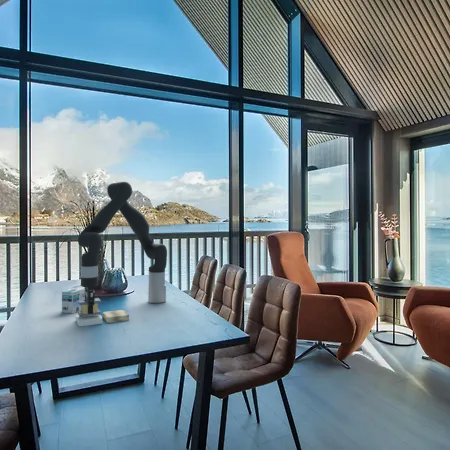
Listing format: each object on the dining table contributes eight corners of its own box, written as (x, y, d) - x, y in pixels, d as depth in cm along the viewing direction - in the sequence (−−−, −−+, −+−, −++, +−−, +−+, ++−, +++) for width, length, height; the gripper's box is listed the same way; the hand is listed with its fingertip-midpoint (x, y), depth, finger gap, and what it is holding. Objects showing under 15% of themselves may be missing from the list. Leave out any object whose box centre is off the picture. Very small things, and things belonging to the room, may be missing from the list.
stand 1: (98, 317, 170) (98, 312, 170) (102, 323, 161) (102, 318, 161) (76, 320, 165) (76, 315, 165) (78, 326, 156) (78, 320, 156)
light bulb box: (73, 313, 176) (73, 292, 176) (61, 312, 177) (61, 291, 177) (85, 308, 186) (85, 287, 186) (74, 307, 188) (74, 287, 187)
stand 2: (123, 314, 175) (123, 309, 175) (128, 320, 167) (128, 314, 167) (102, 317, 171) (102, 312, 171) (106, 322, 162) (107, 317, 162)
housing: (98, 311, 167) (98, 298, 167) (100, 314, 163) (100, 300, 162) (78, 313, 163) (78, 300, 163) (79, 316, 158) (79, 302, 158)
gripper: (100, 277, 158) (100, 315, 158) (95, 272, 170) (95, 307, 171) (82, 278, 154) (82, 317, 155) (78, 273, 167) (78, 309, 167)
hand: (89, 311), depth 163 cm, fingers closed on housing, 5 cm apart
